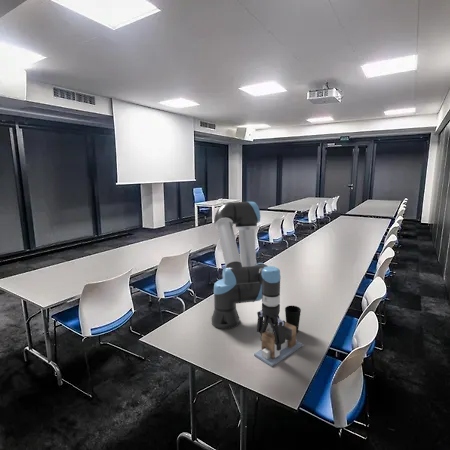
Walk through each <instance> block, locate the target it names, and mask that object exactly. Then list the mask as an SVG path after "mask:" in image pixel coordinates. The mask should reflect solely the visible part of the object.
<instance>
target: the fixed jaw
mask: <svg viewBox="0 0 450 450" xmlns="http://www.w3.org/2000/svg"><path fill="white" fill-rule="evenodd" d="M284 329H285V339H287V340H289V341H288V347H289V348H292V347H293V346H295V345H296V341H297V333H296V326H293V325H291V324H289V323H287V322H286V321H285V325H284Z"/></svg>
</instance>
